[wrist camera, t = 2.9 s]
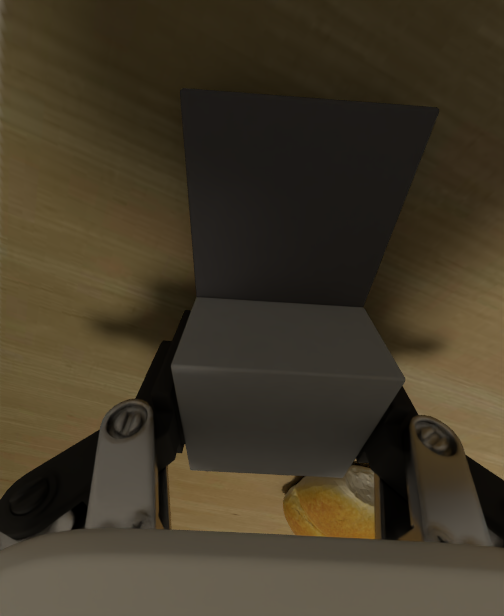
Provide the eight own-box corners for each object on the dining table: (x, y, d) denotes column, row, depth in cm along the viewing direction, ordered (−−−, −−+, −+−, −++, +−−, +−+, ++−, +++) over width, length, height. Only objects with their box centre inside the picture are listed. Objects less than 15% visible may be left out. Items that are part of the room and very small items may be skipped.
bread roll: (270, 498, 22) (272, 562, 19) (317, 453, 17) (330, 529, 14) (353, 511, 24) (368, 573, 20) (419, 473, 19) (452, 546, 15)
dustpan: (192, 94, 6) (108, 52, 3) (410, 110, 6) (596, 88, 3) (209, 376, 13) (189, 473, 9) (319, 383, 13) (341, 481, 9)
